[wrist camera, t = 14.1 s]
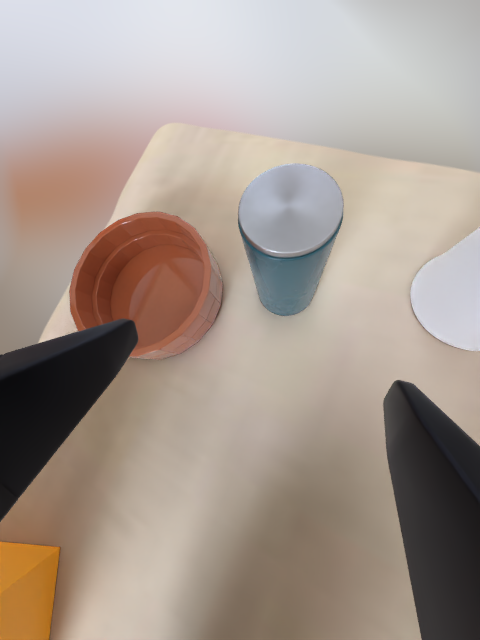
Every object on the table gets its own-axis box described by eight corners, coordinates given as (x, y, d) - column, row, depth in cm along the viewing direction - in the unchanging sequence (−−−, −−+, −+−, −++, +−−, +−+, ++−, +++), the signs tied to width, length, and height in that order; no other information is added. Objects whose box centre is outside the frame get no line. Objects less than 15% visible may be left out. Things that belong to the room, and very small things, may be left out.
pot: (192, 380, 22) (169, 381, 18) (85, 333, 25) (44, 324, 21) (243, 256, 24) (234, 230, 20) (138, 227, 27) (111, 199, 23)
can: (288, 327, 21) (294, 276, 10) (247, 292, 23) (215, 216, 12) (325, 286, 22) (370, 195, 11) (283, 254, 23) (284, 145, 12)
